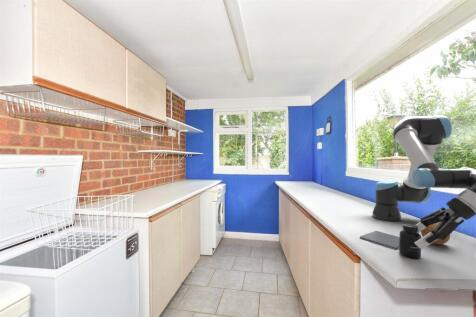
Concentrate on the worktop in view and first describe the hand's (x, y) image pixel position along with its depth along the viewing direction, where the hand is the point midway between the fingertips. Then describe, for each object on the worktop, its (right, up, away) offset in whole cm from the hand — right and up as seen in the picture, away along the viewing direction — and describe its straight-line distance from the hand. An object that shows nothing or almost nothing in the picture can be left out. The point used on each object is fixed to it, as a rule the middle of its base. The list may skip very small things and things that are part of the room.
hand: (412, 239), depth 85 cm
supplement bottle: (0, -7, +1) cm, 7 cm away
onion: (+20, -7, +12) cm, 24 cm away
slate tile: (0, -6, +17) cm, 18 cm away
